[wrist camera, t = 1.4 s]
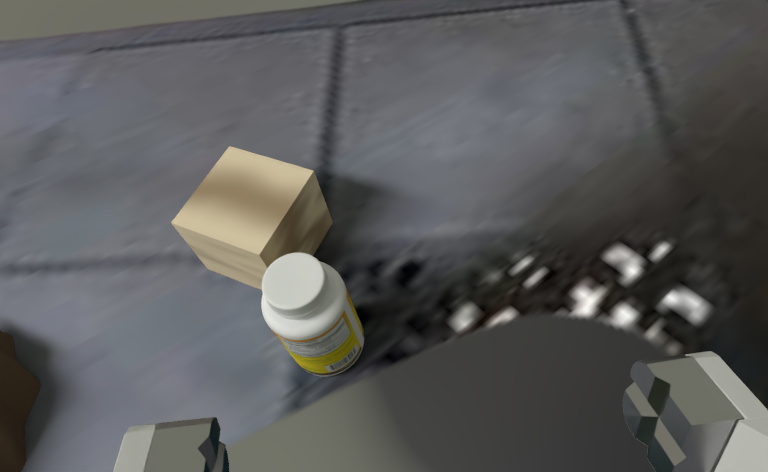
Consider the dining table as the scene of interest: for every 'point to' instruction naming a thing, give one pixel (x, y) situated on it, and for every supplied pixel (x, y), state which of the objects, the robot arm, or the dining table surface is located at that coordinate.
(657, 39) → the dining table surface
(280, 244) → the beech block
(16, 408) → the decorative dome
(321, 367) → the supplement bottle
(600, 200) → the dining table surface
